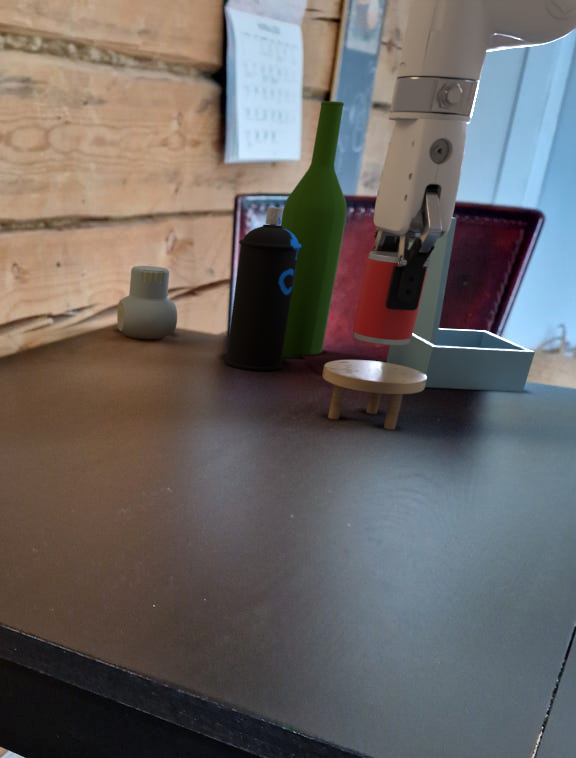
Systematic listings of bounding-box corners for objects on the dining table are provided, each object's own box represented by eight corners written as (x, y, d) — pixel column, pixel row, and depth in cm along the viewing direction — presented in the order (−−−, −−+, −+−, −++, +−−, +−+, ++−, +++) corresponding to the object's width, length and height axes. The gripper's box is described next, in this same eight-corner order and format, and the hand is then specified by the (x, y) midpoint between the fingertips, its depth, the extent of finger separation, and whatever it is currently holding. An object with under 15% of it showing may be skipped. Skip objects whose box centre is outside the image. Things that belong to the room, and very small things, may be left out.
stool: (394, 413, 102) (406, 362, 99) (428, 441, 93) (443, 385, 90) (303, 409, 101) (313, 357, 98) (329, 436, 92) (340, 380, 89)
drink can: (399, 335, 95) (417, 253, 91) (419, 346, 90) (439, 259, 86) (344, 332, 95) (360, 249, 91) (361, 343, 89) (379, 256, 85)
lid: (413, 209, 115) (375, 211, 115) (457, 217, 102) (414, 219, 102) (397, 322, 122) (362, 323, 122) (436, 342, 109) (397, 344, 109)
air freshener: (114, 328, 140) (118, 262, 135) (164, 330, 141) (170, 265, 136) (124, 342, 130) (129, 271, 125) (177, 344, 131) (184, 274, 126)
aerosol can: (222, 368, 119) (243, 207, 109) (225, 356, 126) (244, 204, 116) (282, 373, 118) (308, 211, 108) (281, 361, 125) (305, 208, 115)
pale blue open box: (475, 371, 126) (486, 330, 123) (521, 397, 113) (535, 351, 110) (385, 367, 125) (394, 325, 122) (421, 392, 113) (432, 346, 110)
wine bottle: (330, 353, 132) (376, 105, 116) (306, 362, 125) (352, 100, 109) (278, 344, 136) (315, 103, 120) (252, 351, 130) (288, 98, 113)
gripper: (511, 102, 74) (456, 320, 83) (436, 110, 89) (396, 293, 98) (427, 96, 74) (381, 316, 83) (365, 105, 89) (332, 289, 98)
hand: (389, 302), depth 90 cm, fingers closed on drink can, 6 cm apart
